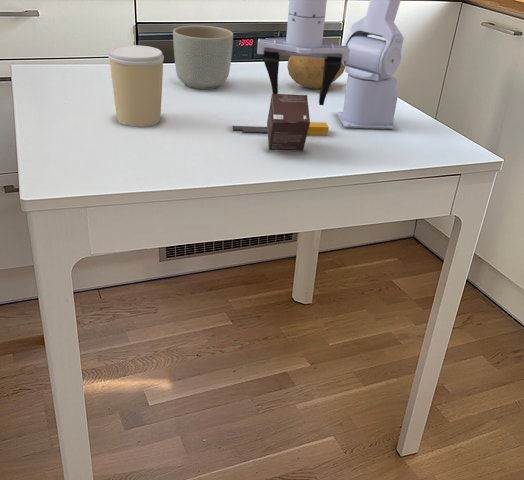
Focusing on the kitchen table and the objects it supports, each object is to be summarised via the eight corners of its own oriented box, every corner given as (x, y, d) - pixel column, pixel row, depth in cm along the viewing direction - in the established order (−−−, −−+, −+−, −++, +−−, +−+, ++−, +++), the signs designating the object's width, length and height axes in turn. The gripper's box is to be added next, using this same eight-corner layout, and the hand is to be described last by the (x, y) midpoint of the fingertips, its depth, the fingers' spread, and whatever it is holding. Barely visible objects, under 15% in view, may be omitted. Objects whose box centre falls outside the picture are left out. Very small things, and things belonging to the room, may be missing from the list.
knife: (325, 130, 118) (326, 122, 117) (327, 135, 116) (328, 127, 115) (232, 127, 116) (232, 119, 115) (233, 132, 114) (233, 124, 113)
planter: (204, 74, 145) (205, 23, 139) (243, 87, 138) (245, 34, 132) (161, 82, 137) (160, 28, 132) (199, 96, 131) (200, 41, 125)
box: (301, 125, 111) (308, 94, 105) (303, 152, 108) (311, 122, 102) (266, 123, 110) (271, 92, 104) (267, 151, 108) (273, 121, 101)
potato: (353, 90, 142) (359, 53, 138) (299, 95, 136) (303, 57, 132) (329, 78, 149) (333, 43, 145) (276, 83, 143) (279, 45, 139)
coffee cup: (174, 117, 119) (174, 50, 112) (146, 132, 111) (143, 60, 105) (132, 108, 122) (129, 42, 115) (101, 121, 114) (96, 51, 108)
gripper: (258, 15, 96) (253, 105, 103) (355, 22, 96) (343, 112, 103) (260, 6, 102) (255, 92, 109) (352, 14, 102) (340, 99, 109)
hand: (298, 101), depth 106 cm, fingers open, 7 cm apart
